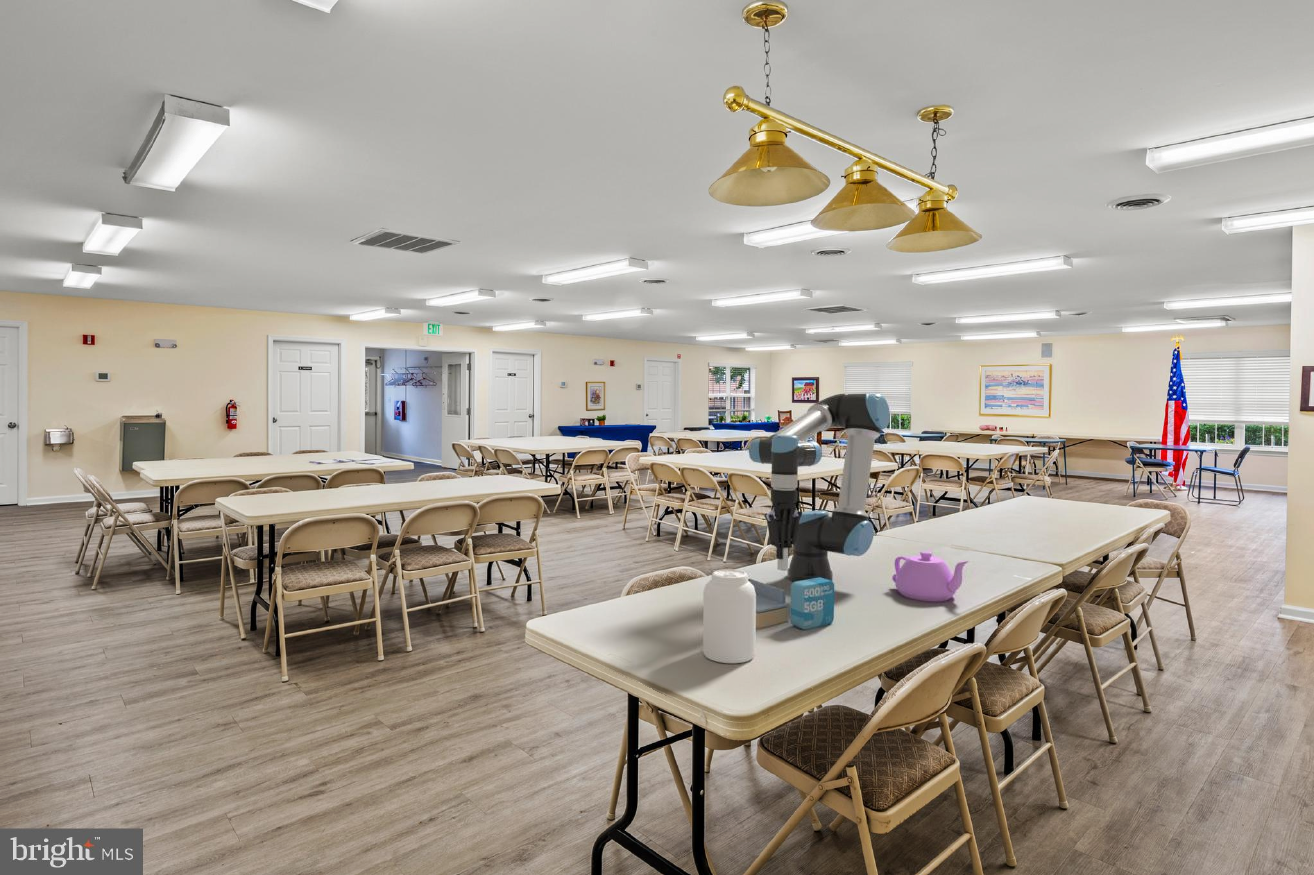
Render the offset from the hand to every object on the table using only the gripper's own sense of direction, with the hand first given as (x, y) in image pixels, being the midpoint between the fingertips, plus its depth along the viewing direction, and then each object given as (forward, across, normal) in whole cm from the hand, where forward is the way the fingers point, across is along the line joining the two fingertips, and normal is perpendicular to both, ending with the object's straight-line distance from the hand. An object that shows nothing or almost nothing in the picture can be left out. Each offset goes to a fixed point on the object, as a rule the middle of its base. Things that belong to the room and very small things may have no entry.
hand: (782, 569), depth 197 cm
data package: (+12, +2, +14) cm, 19 cm away
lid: (+8, +11, 0) cm, 13 cm away
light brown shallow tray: (+12, +11, 0) cm, 16 cm away
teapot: (+12, -49, +14) cm, 52 cm away
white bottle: (+13, +35, +19) cm, 42 cm away
